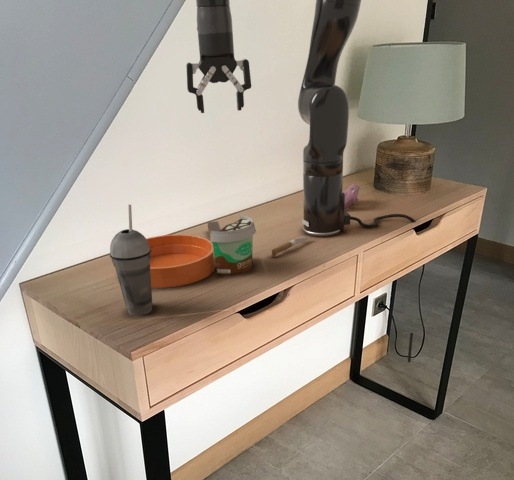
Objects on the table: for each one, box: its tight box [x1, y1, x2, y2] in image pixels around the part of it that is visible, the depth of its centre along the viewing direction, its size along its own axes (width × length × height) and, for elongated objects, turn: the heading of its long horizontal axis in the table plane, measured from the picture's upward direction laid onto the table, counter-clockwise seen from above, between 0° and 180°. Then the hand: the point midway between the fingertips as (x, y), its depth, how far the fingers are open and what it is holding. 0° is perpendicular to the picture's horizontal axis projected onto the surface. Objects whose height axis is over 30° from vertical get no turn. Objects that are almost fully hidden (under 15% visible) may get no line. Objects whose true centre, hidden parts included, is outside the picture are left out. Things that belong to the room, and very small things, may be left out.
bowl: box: [146, 234, 216, 289], centre depth 124 cm, size 20×20×4 cm
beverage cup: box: [109, 204, 153, 316], centre depth 103 cm, size 7×7×20 cm
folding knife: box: [271, 235, 310, 258], centre depth 132 cm, size 14×2×2 cm, turn 138°
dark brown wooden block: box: [207, 220, 222, 236], centre depth 139 cm, size 5×15×3 cm, turn 10°
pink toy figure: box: [343, 183, 360, 210], centre depth 158 cm, size 10×5×7 cm, turn 168°
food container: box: [209, 214, 257, 277], centre depth 120 cm, size 12×6×10 cm, turn 151°
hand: (221, 111), depth 133 cm, fingers open, 8 cm apart
